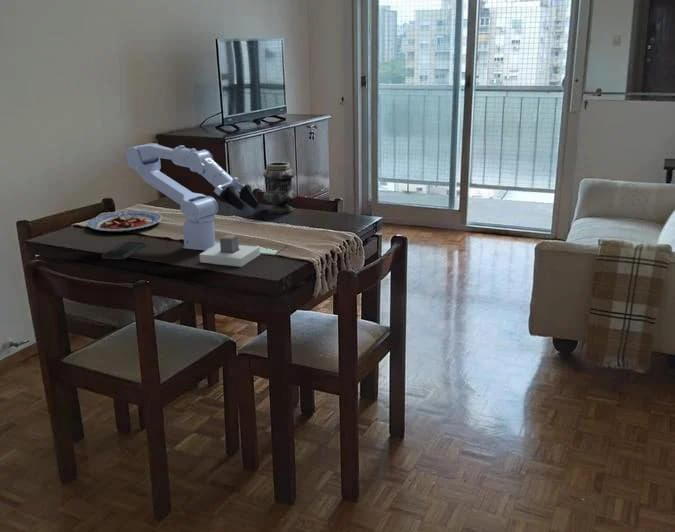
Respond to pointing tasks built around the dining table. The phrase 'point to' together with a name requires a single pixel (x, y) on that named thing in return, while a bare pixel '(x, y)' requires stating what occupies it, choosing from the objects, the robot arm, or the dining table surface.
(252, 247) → the white board with hole
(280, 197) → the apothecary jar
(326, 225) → the dining table surface
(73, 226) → the dining table surface
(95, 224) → the ceramic plate
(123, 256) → the phone
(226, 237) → the plug
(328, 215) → the dining table surface
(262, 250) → the pad
